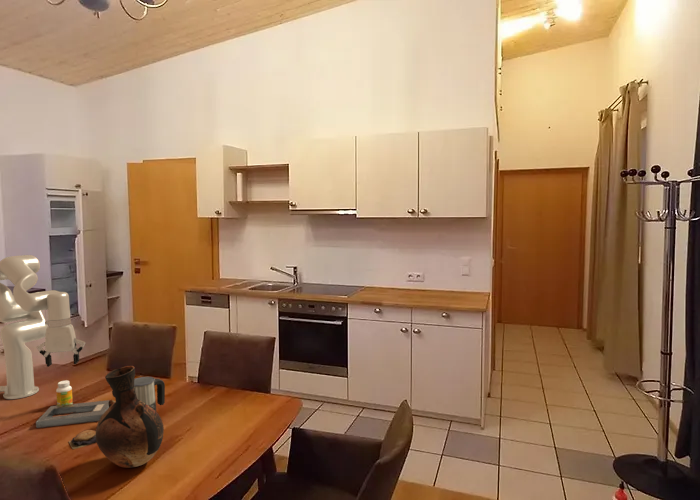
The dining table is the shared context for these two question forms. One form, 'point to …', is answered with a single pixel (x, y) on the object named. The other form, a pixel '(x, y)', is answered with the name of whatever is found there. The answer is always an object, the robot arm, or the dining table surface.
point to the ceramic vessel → (128, 423)
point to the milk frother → (149, 391)
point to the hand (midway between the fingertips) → (62, 364)
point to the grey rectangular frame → (95, 415)
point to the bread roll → (83, 439)
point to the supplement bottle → (64, 393)
